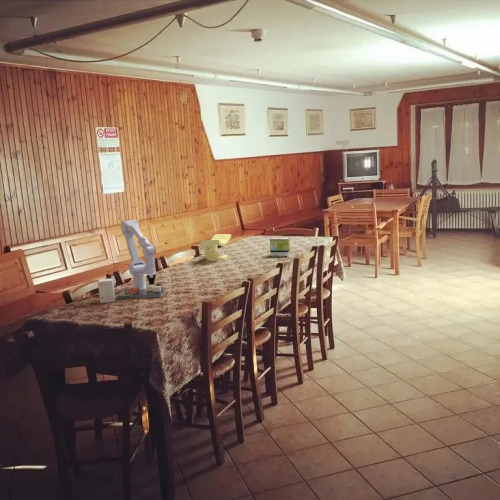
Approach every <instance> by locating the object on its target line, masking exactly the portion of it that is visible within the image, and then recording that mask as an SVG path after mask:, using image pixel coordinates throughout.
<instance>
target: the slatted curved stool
mask: <svg viewBox="0 0 500 500" xmlns="http://www.w3.org/2000/svg"><path fill="white" fill-rule="evenodd" d="M231 238H232V234H231V233H229V234H228V233H227V234H225V233H223V234H222V233H220V234H219V233H217V234H214V235H213V236H212V238H211V239H202V240H201V241H200V242H199V247H200V250H202V251H203V250H204V255H205V259H206V260H207V261H217V260H224V261H225V260H227V259H229V258H230V257H229V255H227V254H224V255H223V254H218V253H216V247H217V246H225V245H226V244H229V242H230V240H231ZM228 257H229V258H228ZM226 258H227V259H226Z"/></svg>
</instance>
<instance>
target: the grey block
mask: <svg viewBox="0 0 500 500" xmlns="http://www.w3.org/2000/svg"><path fill="white" fill-rule="evenodd" d="M161 286H162V285H161ZM161 286H156V285H154V287H153V291H154V292H161Z"/></svg>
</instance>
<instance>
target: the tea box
mask: <svg viewBox="0 0 500 500" xmlns="http://www.w3.org/2000/svg"><path fill="white" fill-rule="evenodd" d="M290 243H291V242H290V236H274V237H273V236H272V237H270V239H269V254H270V257H271V256H272V257H282V256H288V257H289V256H290V254H291V253H290V252H291V251H290V250H291V249H290V247H291V246H290Z"/></svg>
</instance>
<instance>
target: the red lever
mask: <svg viewBox="0 0 500 500" xmlns="http://www.w3.org/2000/svg"><path fill="white" fill-rule="evenodd" d="M133 288H134V287H133ZM133 288H130V289H129V288H128V287H127V288H124V290H123V291H125V295H128V294H132V293H137V292H139V287H136V288H134V289H133Z"/></svg>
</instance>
